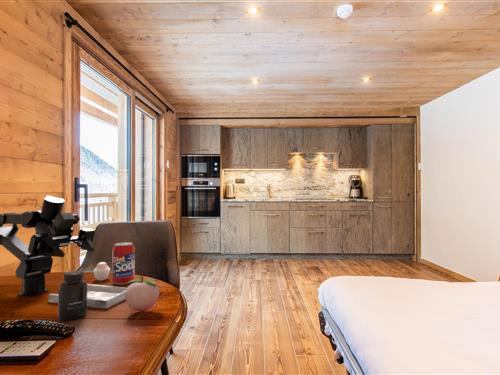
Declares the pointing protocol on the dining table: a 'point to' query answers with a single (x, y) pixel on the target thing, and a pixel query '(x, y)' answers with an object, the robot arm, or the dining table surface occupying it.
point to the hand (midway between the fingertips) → (79, 252)
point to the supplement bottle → (72, 296)
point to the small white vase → (101, 271)
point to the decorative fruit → (141, 294)
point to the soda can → (123, 263)
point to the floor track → (99, 296)
